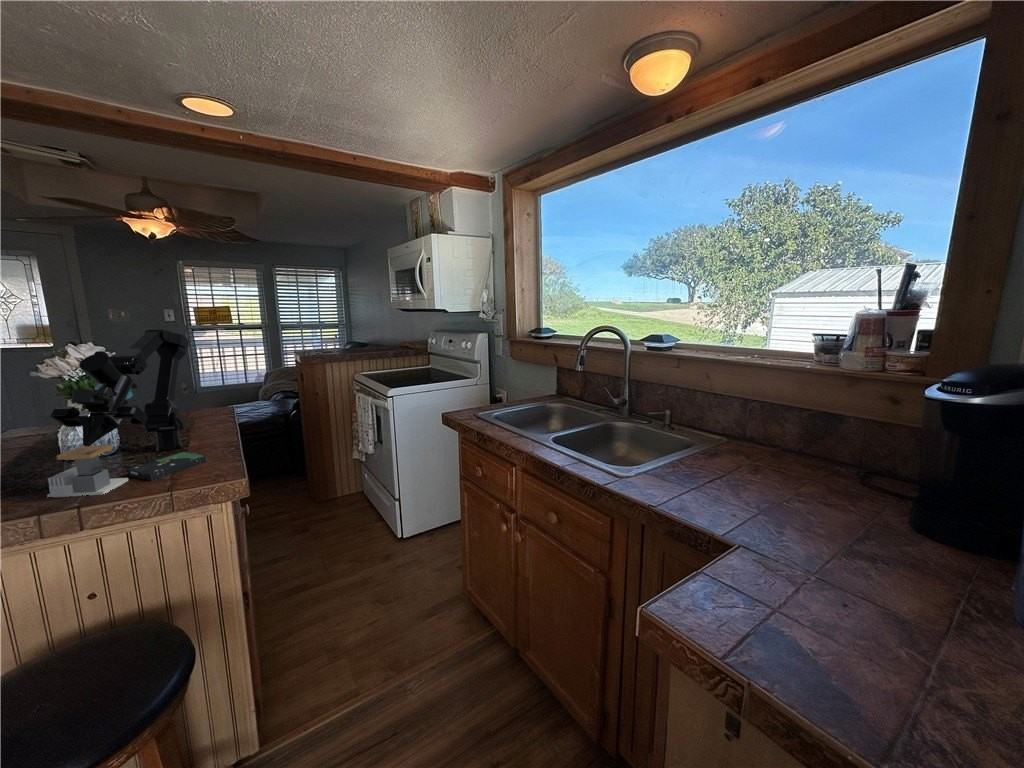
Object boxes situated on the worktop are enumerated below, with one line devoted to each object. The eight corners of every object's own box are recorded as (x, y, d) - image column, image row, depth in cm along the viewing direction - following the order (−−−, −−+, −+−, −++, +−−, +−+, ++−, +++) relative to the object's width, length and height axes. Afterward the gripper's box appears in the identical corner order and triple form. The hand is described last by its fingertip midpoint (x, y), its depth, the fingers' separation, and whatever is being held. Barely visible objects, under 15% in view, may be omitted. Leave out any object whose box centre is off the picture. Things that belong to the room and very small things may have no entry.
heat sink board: (77, 483, 109) (73, 466, 109) (128, 480, 111) (125, 463, 110) (47, 497, 101) (43, 479, 100) (103, 494, 103) (99, 476, 102)
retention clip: (85, 468, 107) (81, 446, 106) (116, 466, 108) (112, 444, 107) (61, 479, 100) (56, 455, 99) (94, 477, 101) (89, 454, 100)
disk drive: (153, 483, 111) (208, 463, 125) (151, 473, 111) (206, 454, 124) (128, 478, 114) (184, 458, 128) (126, 468, 114) (183, 450, 128)
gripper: (49, 376, 104) (14, 431, 95) (133, 375, 107) (106, 428, 98) (81, 400, 113) (52, 452, 104) (158, 398, 116) (135, 449, 107)
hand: (85, 445), depth 103 cm, fingers closed
